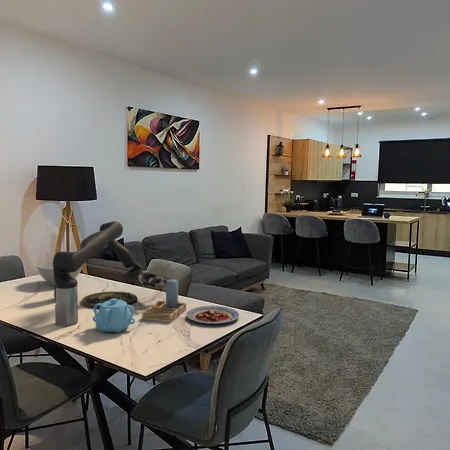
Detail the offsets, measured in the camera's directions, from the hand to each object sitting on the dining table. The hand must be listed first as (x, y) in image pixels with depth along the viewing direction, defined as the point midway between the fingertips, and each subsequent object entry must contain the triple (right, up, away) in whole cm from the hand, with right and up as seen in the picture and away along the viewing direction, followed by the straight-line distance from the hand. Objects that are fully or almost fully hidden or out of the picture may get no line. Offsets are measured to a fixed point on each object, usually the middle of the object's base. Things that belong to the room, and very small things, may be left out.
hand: (161, 284), depth 215 cm
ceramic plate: (+27, -15, -14) cm, 34 cm away
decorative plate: (-30, -11, +10) cm, 34 cm away
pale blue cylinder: (+6, -12, -7) cm, 15 cm away
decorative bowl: (-71, -6, +46) cm, 85 cm away
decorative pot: (-17, -16, -31) cm, 39 cm away
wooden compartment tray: (+3, -13, -11) cm, 18 cm away
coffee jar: (-57, -10, +12) cm, 59 cm away
